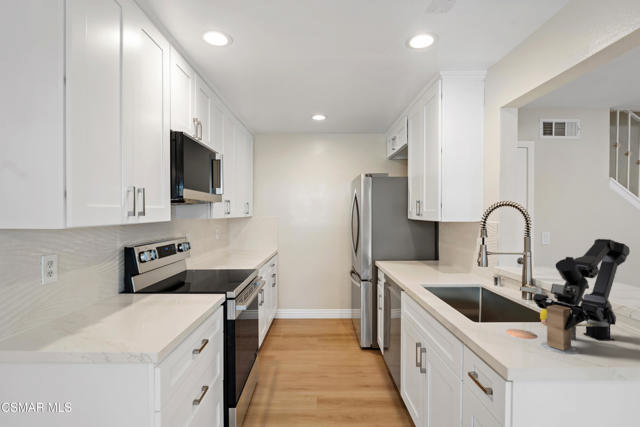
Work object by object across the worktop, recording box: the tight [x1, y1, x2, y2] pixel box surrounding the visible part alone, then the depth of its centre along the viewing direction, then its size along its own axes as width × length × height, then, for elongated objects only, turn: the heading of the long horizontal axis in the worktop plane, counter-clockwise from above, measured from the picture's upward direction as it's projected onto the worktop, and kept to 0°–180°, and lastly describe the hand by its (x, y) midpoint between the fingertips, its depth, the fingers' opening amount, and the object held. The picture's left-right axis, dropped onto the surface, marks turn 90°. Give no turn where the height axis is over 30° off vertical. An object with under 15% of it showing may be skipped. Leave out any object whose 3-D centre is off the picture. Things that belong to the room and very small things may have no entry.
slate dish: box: [540, 341, 579, 355], centre depth 105 cm, size 10×10×1 cm
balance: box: [540, 319, 609, 341], centre depth 113 cm, size 19×6×9 cm, turn 53°
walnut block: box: [546, 305, 572, 351], centre depth 105 cm, size 5×5×13 cm
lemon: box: [539, 308, 547, 320], centre depth 130 cm, size 6×6×8 cm
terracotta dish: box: [505, 328, 538, 340], centre depth 118 cm, size 10×10×1 cm
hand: (556, 326), depth 105 cm, fingers closed on walnut block, 5 cm apart
